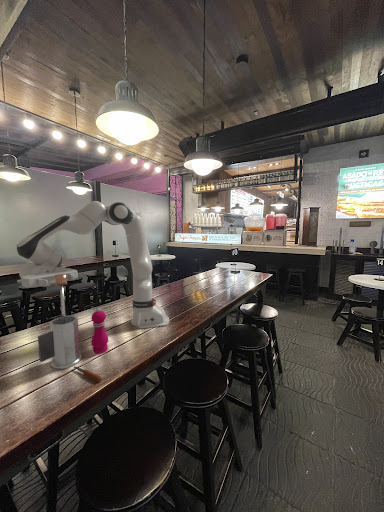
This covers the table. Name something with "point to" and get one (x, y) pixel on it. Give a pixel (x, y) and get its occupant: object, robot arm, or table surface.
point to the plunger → (61, 292)
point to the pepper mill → (99, 332)
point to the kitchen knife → (89, 374)
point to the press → (61, 343)
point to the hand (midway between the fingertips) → (61, 279)
